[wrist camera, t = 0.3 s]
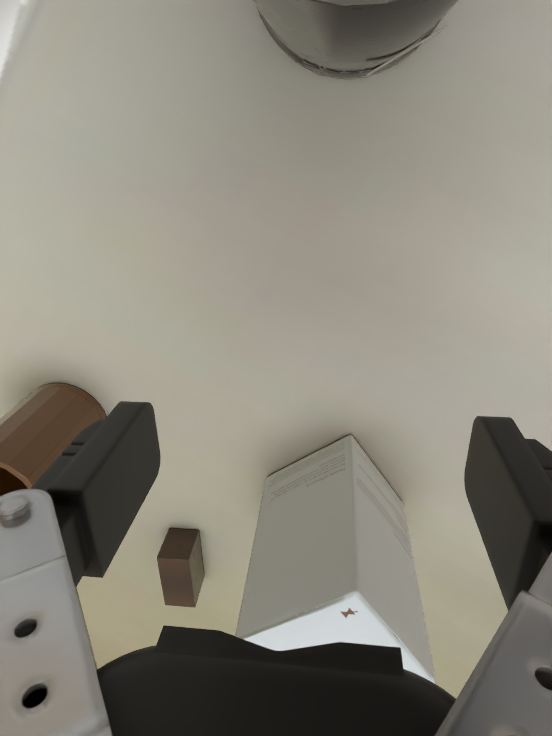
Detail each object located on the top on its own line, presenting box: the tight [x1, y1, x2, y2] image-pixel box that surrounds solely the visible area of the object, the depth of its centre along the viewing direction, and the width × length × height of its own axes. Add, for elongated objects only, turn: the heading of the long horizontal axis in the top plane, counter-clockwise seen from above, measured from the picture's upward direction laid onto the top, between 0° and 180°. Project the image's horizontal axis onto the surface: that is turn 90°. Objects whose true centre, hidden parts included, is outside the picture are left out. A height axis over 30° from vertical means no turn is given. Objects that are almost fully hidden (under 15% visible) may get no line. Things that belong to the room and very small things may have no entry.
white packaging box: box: [235, 435, 436, 684], centre depth 29 cm, size 7×7×13 cm
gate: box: [157, 528, 204, 607], centre depth 38 cm, size 5×17×3 cm, turn 91°
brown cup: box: [0, 383, 106, 496], centre depth 31 cm, size 6×6×8 cm
